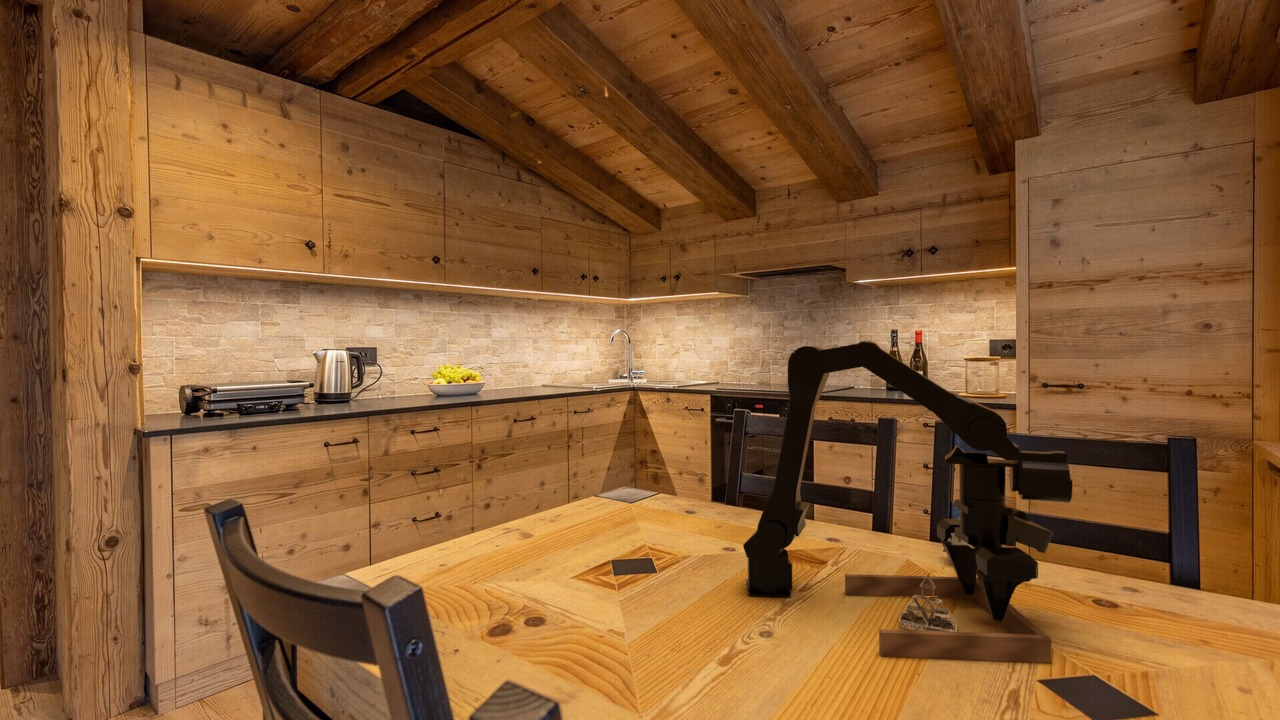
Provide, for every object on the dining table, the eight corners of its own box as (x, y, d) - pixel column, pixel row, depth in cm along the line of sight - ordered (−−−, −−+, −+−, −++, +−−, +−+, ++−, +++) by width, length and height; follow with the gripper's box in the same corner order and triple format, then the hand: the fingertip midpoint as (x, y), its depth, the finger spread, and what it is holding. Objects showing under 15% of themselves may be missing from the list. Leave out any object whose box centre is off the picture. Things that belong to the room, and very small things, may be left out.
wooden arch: (881, 656, 79) (881, 632, 79) (845, 592, 100) (844, 574, 99) (1051, 663, 76) (1051, 638, 76) (977, 596, 97) (977, 577, 97)
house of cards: (974, 620, 90) (973, 567, 90) (970, 645, 82) (969, 587, 82) (906, 608, 94) (905, 557, 94) (897, 630, 87) (896, 575, 87)
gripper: (1082, 514, 78) (1083, 638, 78) (1010, 483, 97) (1011, 584, 97) (988, 512, 80) (989, 635, 80) (935, 482, 98) (936, 582, 98)
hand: (982, 606), depth 89 cm, fingers open, 9 cm apart
